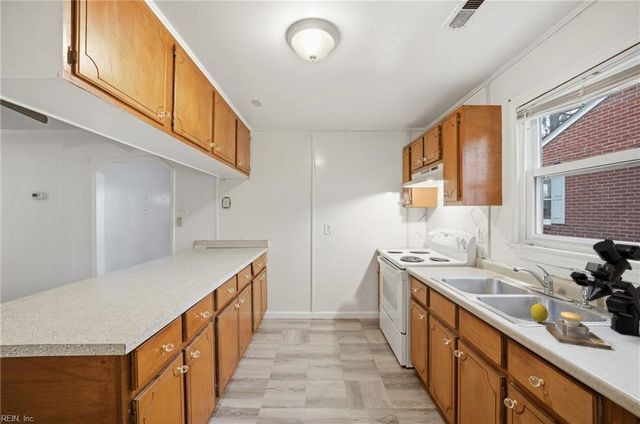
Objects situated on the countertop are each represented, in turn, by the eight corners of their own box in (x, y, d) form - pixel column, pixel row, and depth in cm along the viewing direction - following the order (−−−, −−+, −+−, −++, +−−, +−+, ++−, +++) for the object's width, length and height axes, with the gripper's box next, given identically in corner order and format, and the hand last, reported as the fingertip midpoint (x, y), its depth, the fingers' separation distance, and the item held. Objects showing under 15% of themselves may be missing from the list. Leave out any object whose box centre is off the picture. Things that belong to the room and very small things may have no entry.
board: (591, 335, 105) (591, 321, 105) (611, 350, 94) (611, 335, 94) (545, 329, 110) (546, 316, 110) (559, 342, 99) (559, 328, 99)
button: (577, 326, 105) (577, 313, 105) (586, 332, 99) (586, 318, 99) (557, 323, 107) (558, 310, 107) (564, 329, 101) (565, 316, 101)
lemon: (548, 322, 117) (548, 303, 117) (547, 326, 112) (547, 306, 112) (531, 319, 120) (531, 300, 120) (530, 322, 116) (530, 303, 116)
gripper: (574, 251, 115) (551, 279, 113) (633, 259, 96) (607, 292, 94) (588, 270, 116) (566, 298, 114) (649, 281, 98) (624, 315, 96)
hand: (588, 300), depth 105 cm, fingers closed
